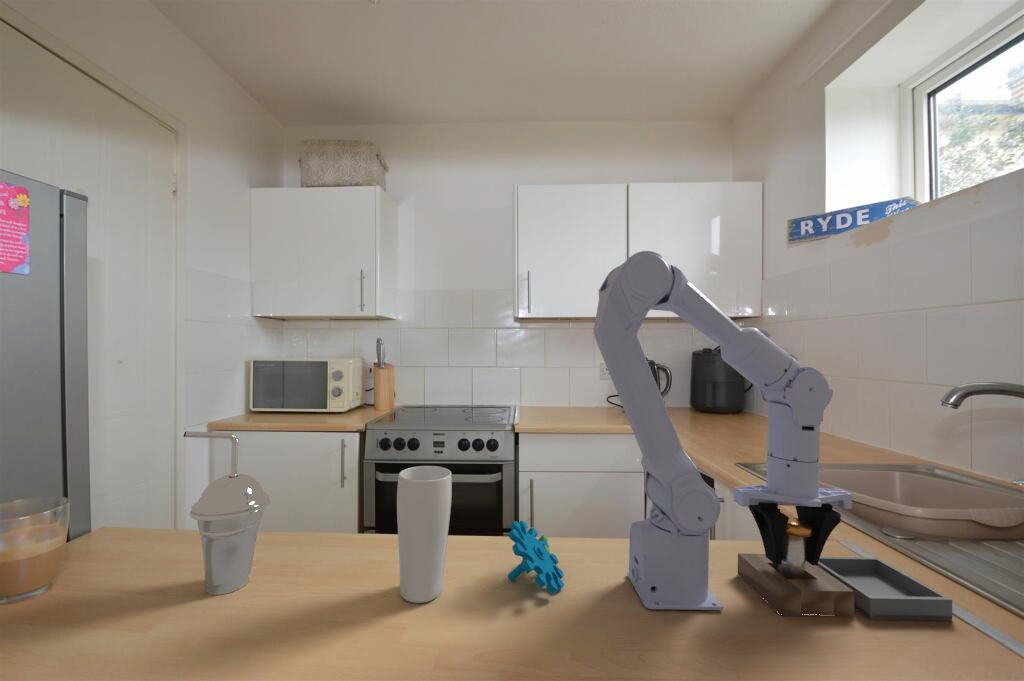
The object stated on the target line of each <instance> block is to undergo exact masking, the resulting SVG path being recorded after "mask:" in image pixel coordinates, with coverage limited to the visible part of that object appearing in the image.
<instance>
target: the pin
mask: <svg viewBox="0 0 1024 681" xmlns="http://www.w3.org/2000/svg"><path fill="white" fill-rule="evenodd" d="M787 516H788V517H789V520H788V523H787V525H786V529H785V533H784V538H783V557H782V562H781V565H778V572H779V573H780V574H781V575H782V576H784V577H785V578H786V579H805V553H806V537H811V536H812V525H811V524H810V523H808V522H807V521H804V520H802V519H799V518H798V517H793V516H789V515H787Z"/></svg>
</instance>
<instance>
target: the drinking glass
mask: <svg viewBox="0 0 1024 681" xmlns="http://www.w3.org/2000/svg"><path fill="white" fill-rule="evenodd" d="M452 476H453V475H452V471H451V470H450V469H448V468H446V467H443V466H438V465H437V466H436V465H420V466H419V465H418V466H412V467H408V468H405V469H403V470H401V471H400V472H399V473H398V478H397V479H398V480H397V488H396V489H397V490H396V517H397V518H396V519H397V520H396V521H397V537H398V538H397V540H398V557H399V561H398V562H399V593H400V596H401V597H402V599H404V600H405V601H407V602H410V603H412V604H423V603H427V602H431V601H434V600H435V599H436V598H437V597H439V596H440V594H441V593H442V592H443V588H444V572H445V562H446V554H447V544H448V537H449V528H450V518H451V512H452V511H451V508H452V498H453V497H452V495H453V494H452V490H453V487H452V486H453V481H452V480H453V479H452V478H453V477H452Z"/></svg>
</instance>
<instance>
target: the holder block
mask: <svg viewBox="0 0 1024 681" xmlns="http://www.w3.org/2000/svg"><path fill="white" fill-rule="evenodd" d="M738 575H739V576H740V577H741V578H742V579H741V578H740V577H739V576H738ZM737 576H738V577H739V578H740V579H741V580H742V581H743V582H744V583H746V585H747V586H749V587H750V589H752V588H753V589H754V590H755V591H756V592H757V593H758V594H759V595H760V596H761V597H762V598H764V600H763V601H765V600H766V601H767V602H768V603H767V602H766V601H765V602H766V603H767V604H768V605H769V604H770V605H771V606H772V607H773V608H774V609H775V610H776V611H778V613H779V614H780V615H781V614H782V615H802V614H803V615H804V614H809V615H810V614H814V615H815V614H817V615H819V614H820V615H835V616H834V617H837V616H847V618H848V617H849V616H850V617H849V618H851V617H852V618H853V617H855V608H854V591H853V590H852V589H850V588H849V587H847V586H846V585H844V584H843V583H841V582H840V581H838V580H837V579H835V578H834V577H833V576H831V575H830V574H828V573H827V572H825V571H824V570H822V569H821V568H819V567H818V566H816V565H811V564H810V563H809V562H807V561H806V560H805V579H786V578H785V577H784V576H782V575H781V574H780V573H779V572H778V565H776V564H774V563H773V562H772V561H770V560H769V559H768V558H767V557H766V554H765V553H737ZM753 589H752V590H753ZM754 590H753V591H754ZM755 591H754V592H755ZM756 592H755V593H756ZM757 593H756V594H757ZM758 594H757V595H758ZM759 595H758V596H759ZM760 596H759V597H760ZM761 597H760V598H761ZM762 598H761V599H762ZM770 605H769V606H770ZM771 606H770V607H771ZM772 607H771V608H772ZM773 608H772V609H773ZM774 609H773V610H774ZM775 610H774V611H775ZM776 611H775V612H776ZM778 613H777V614H778ZM779 614H778V615H779ZM780 615H779V616H780Z"/></svg>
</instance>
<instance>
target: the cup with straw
mask: <svg viewBox="0 0 1024 681" xmlns="http://www.w3.org/2000/svg"><path fill="white" fill-rule="evenodd" d="M183 438H196V439H197V438H199V439H228V440H230V441H231V457H230V474H227V475H224V476H221V477H218V478H217V479H215V480H213V482H211V483H209V485H208V486H206V487H205V489H204V490H203V492H202V493H201V495H200V497H199V499H198V501H196V502H195V503H194V504H193V505H192V506H191V509H190V512H189V516H190V518H191V519H193V520H197V528H198V531H199V532H198V533H199V536H201V537H200V538H201V547H202V548H201V550H202V561H203V571H204V573H203V574H204V581H205V584H206V588H205V591H206V593H207V594H208V595H209V594H210V595H214V596H219V595H220V596H221V595H226V594H230V593H233V592H237V591H239V590H240V589H243V588H244V587H245V586H247V585H248V583H249V582H250V574H251V572H252V566H253V560H254V554H255V548H256V541H257V536H258V530H259V529H258V528H259V527H260V526H259V525H260V524H261V520H262V518H263V512H264V511H263V510H264V509H266V508H268V506H270V504H271V500H270V495H269V494H268V493H267V492H266V491H265V492H264V489H263V488H262V486H261V483H260V482H259V481H258V480H257V479H256V478H254V477H252V476H250V475H248V474H244V473H238V459H239V458H238V456H239V438H238V436H237V435H236V434H234V433H231V432H212V431H211V432H209V431H188V430H186V431H185V432H184V433H183Z"/></svg>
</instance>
